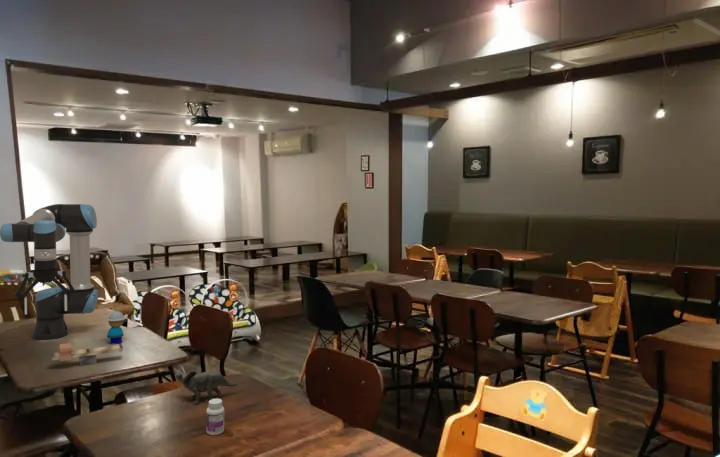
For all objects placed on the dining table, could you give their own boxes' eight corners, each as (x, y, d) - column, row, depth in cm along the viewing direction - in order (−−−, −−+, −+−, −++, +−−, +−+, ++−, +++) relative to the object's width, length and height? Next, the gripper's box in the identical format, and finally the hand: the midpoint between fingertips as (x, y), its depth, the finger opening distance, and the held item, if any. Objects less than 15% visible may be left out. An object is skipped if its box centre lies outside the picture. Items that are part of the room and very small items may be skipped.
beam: (51, 370, 205) (51, 355, 204) (51, 366, 209) (51, 352, 208) (122, 360, 218) (122, 346, 218) (121, 357, 222) (121, 343, 222)
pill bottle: (208, 427, 159) (208, 397, 159) (225, 427, 160) (225, 397, 159) (204, 435, 154) (204, 404, 153) (222, 435, 154) (222, 404, 154)
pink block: (60, 361, 205) (59, 348, 205) (59, 355, 211) (59, 344, 211) (71, 359, 207) (71, 347, 207) (70, 354, 213) (70, 342, 213)
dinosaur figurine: (238, 393, 186) (238, 363, 186) (237, 403, 178) (237, 371, 177) (175, 396, 183) (175, 365, 182) (170, 405, 174) (170, 373, 174)
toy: (130, 341, 245) (130, 310, 244) (114, 346, 237) (114, 314, 236) (117, 338, 249) (117, 308, 248) (102, 343, 241) (101, 312, 240)
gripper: (6, 262, 193) (8, 317, 195) (81, 258, 207) (82, 310, 208) (7, 259, 200) (8, 313, 201) (80, 256, 213) (80, 307, 215)
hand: (46, 312), depth 205 cm, fingers open, 13 cm apart
